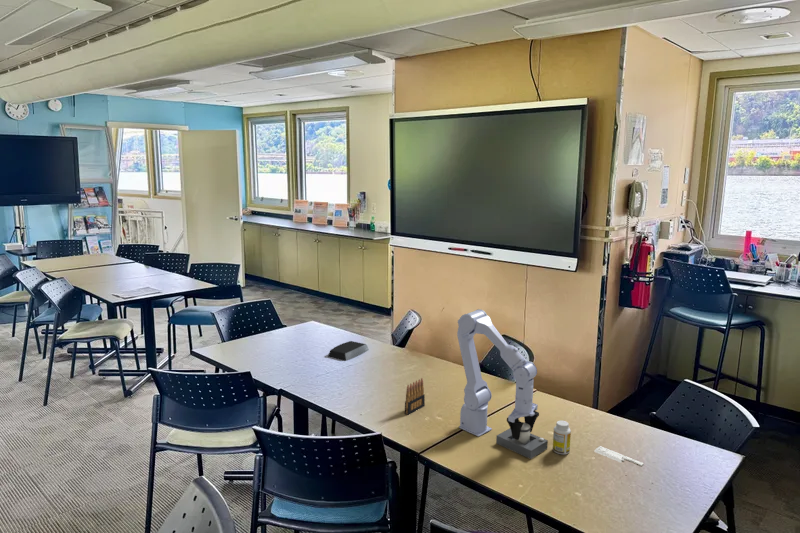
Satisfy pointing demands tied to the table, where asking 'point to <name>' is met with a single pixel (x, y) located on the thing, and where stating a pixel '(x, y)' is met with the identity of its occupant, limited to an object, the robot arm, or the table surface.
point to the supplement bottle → (561, 437)
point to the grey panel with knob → (526, 450)
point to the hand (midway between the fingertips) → (522, 435)
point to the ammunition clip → (414, 397)
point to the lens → (524, 434)
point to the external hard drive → (348, 350)
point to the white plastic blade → (615, 455)
